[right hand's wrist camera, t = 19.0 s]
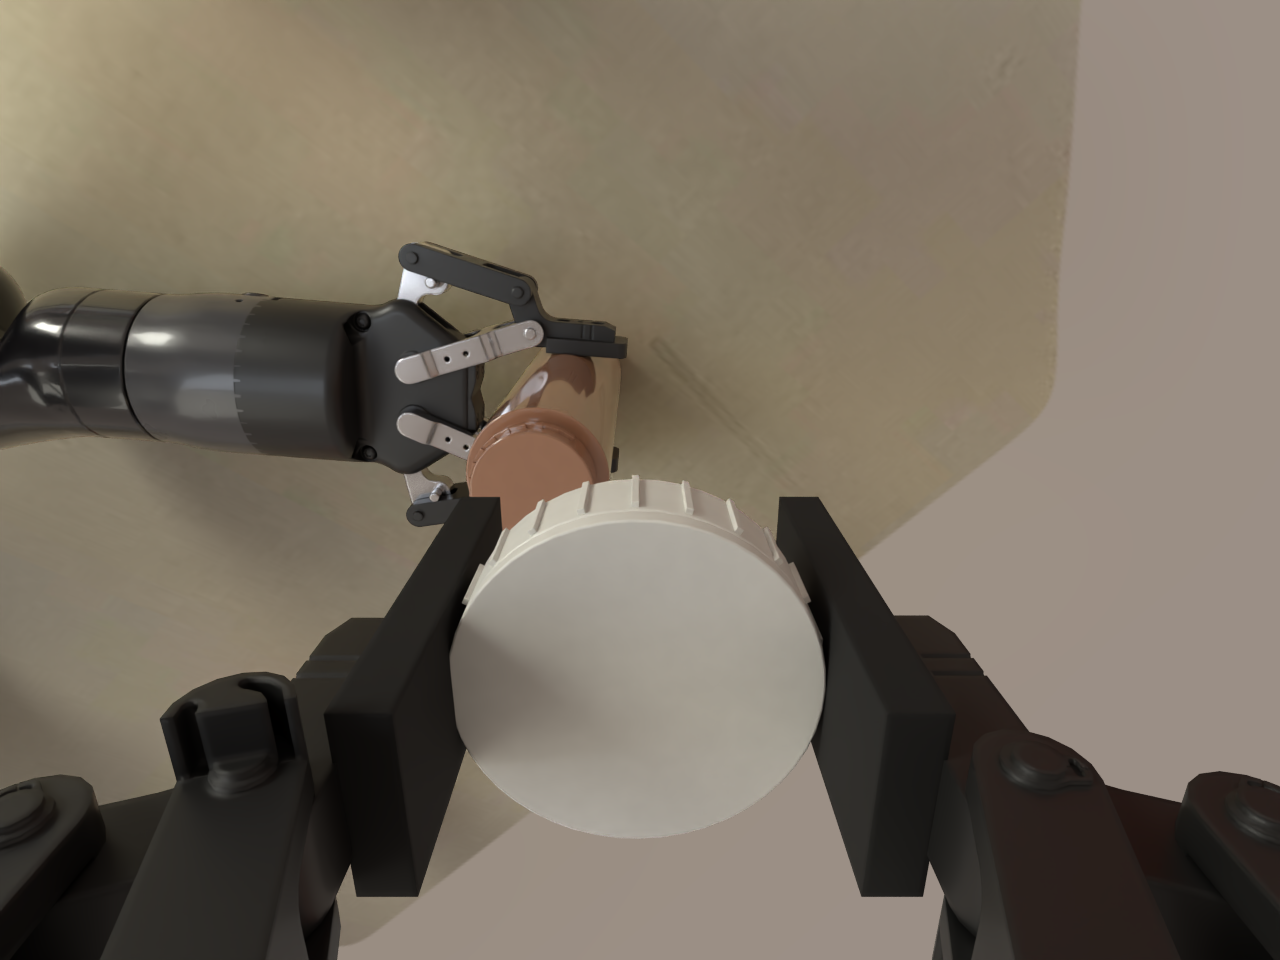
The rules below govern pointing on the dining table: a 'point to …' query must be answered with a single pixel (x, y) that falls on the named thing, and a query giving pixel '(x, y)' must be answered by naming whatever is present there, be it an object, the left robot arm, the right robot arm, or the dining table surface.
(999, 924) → the right robot arm
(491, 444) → the jar
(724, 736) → the lid
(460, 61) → the dining table surface
